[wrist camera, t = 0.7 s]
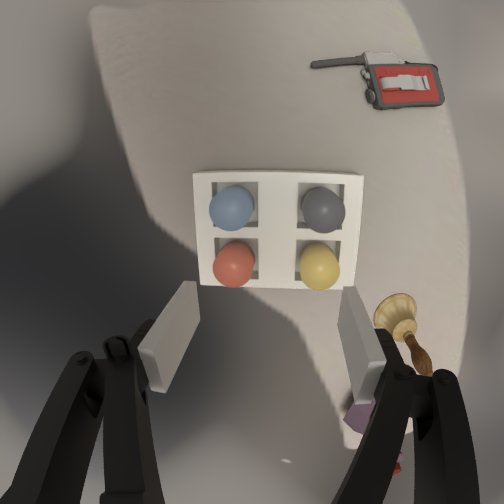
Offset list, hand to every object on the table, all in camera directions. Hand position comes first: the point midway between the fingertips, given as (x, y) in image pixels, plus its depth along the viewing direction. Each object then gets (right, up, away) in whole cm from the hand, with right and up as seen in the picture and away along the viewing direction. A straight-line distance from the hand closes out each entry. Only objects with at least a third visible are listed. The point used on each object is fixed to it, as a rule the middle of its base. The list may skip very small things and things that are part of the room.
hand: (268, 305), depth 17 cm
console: (+3, +7, +24) cm, 25 cm away
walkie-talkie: (+17, +27, +16) cm, 36 cm away
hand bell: (+24, -8, +28) cm, 37 cm away
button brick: (-3, +2, +23) cm, 23 cm away
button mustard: (+8, +2, +22) cm, 23 cm away
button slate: (-3, +9, +20) cm, 22 cm away
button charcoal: (+8, +9, +19) cm, 22 cm away
